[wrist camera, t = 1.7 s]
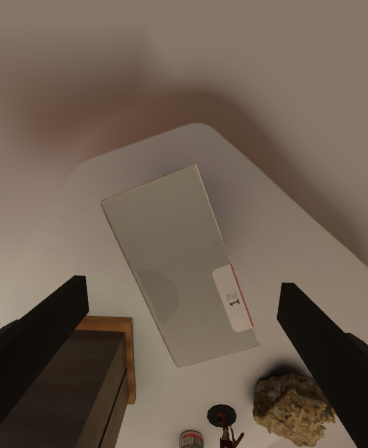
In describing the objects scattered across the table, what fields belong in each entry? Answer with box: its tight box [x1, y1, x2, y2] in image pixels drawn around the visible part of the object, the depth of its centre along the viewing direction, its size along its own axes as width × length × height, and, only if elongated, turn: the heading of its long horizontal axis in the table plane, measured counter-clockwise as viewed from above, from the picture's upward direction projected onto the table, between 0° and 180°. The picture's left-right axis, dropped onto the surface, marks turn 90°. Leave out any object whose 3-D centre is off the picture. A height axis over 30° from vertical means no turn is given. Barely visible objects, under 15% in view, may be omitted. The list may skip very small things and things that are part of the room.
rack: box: [0, 316, 136, 448], centre depth 31 cm, size 21×18×22 cm
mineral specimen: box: [253, 373, 337, 447], centre depth 36 cm, size 14×13×10 cm
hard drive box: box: [101, 164, 260, 368], centre depth 24 cm, size 16×8×20 cm, turn 21°
